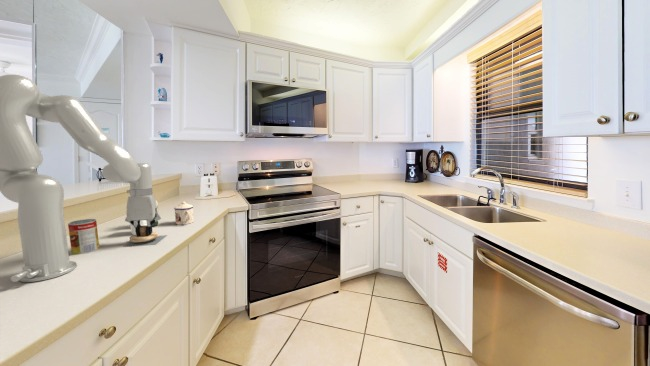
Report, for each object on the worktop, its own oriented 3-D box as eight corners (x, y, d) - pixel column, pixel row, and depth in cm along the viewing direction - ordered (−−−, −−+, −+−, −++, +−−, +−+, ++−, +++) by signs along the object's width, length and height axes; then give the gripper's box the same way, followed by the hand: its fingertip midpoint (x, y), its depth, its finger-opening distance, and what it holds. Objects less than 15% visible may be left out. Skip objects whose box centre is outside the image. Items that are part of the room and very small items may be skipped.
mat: (155, 246, 104) (155, 244, 104) (122, 248, 102) (122, 246, 102) (167, 236, 116) (167, 235, 116) (138, 238, 113) (137, 237, 113)
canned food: (91, 246, 103) (88, 218, 102) (104, 249, 101) (101, 220, 99) (67, 253, 96) (63, 223, 95) (79, 256, 93) (75, 225, 92)
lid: (152, 241, 104) (151, 229, 104) (124, 242, 102) (123, 230, 101) (162, 234, 114) (161, 222, 113) (137, 235, 112) (136, 223, 111)
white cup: (154, 231, 123) (153, 211, 122) (141, 236, 116) (139, 215, 114) (140, 230, 124) (138, 211, 123) (125, 236, 116) (123, 215, 115)
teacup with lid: (172, 222, 138) (171, 201, 137) (190, 219, 145) (189, 199, 143) (180, 227, 130) (178, 205, 129) (198, 223, 137) (197, 202, 135)
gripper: (113, 194, 101) (117, 239, 102) (159, 193, 104) (161, 237, 106) (124, 191, 108) (127, 233, 110) (166, 191, 111) (168, 231, 113)
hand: (144, 234), depth 108 cm, fingers closed on lid, 3 cm apart
